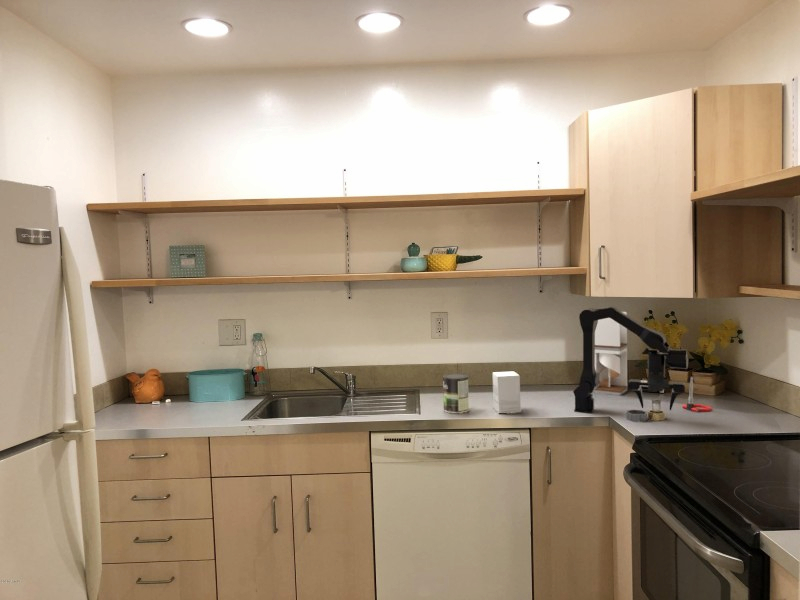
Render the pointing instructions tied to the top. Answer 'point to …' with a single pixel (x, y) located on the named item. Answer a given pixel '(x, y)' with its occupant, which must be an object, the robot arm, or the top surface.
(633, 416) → the wide steel socket
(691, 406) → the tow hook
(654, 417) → the small brass socket
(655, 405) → the round-tipped metal peg
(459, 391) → the coffee can
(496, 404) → the supplement box
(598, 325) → the spiral ramp tower
